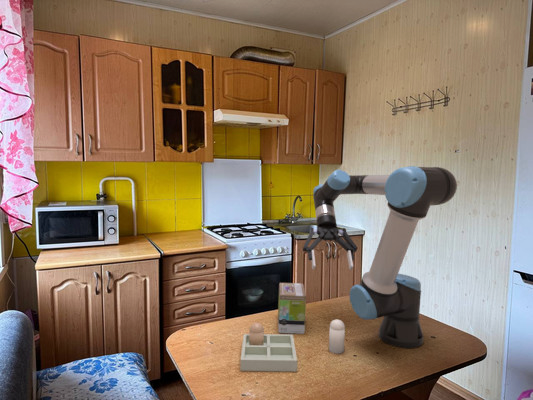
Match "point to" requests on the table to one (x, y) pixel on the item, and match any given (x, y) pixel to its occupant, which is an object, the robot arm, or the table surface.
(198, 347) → the table surface
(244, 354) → the carton
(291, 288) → the tea box
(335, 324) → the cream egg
